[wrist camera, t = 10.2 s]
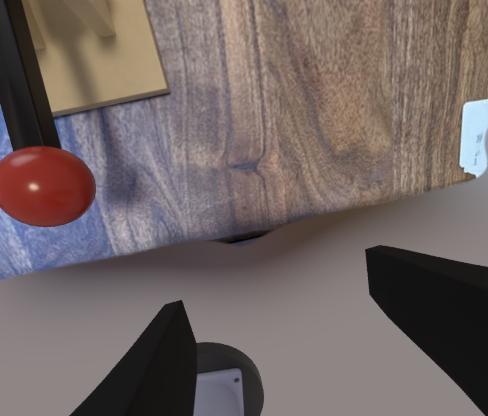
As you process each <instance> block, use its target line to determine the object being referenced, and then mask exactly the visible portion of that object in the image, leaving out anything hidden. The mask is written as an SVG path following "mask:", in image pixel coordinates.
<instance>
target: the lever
mask: <svg viewBox="0 0 488 416" xmlns="http://www.w3.org/2000/svg"><path fill="white" fill-rule="evenodd" d="M0 104H1V108H2V112H3V115H4V119H5V123H6V126H7V130H8V134H9V137H10V141H11V145H12V148H13V152H12V153H10V154H8V155H7V156H5V157H4V158H3V159H2V160H1V161H0V208H1V209H2V210H3V211H4V212H5V213H6V214H7V215H9V216H10V217H12V218H14V219H15V220H17V221H20V222H22V223H25V224H28V225H32V226H38V227H55V226H60V225H64V224H67V223H70V222H72V221H74V220H76V219H78V218H79V217H81V216H82V215H83V214H84V213H85V212H86V211H87V210H88V209H89V208H90V206H91V205H92V203H93V200H94V198H95V194H96V184H95V179H94V176H93V174H92V172H91V170H90V169H89V168H88V166H87V165H86V164H85V163H84V162H83V161H82V160H81V159H80V158H78V157H77V156H75V155H74V154H72V153H70V152H68V151H66V150H63V149H62V148H61V145H60V141H59V137H58V133H57V130H56V126H55V122H54V119H53V115H52V111H51V107H50V104H49V100H48V96H47V93H46V89H45V85H44V81H43V78H42V74H41V70H40V67H39V63H38V59H37V55H36V52H35V48H34V44H33V41H32V37H31V33H30V29H29V26H28V22H27V18H26V15H25V11H24V7H23V3H22V0H0Z"/></svg>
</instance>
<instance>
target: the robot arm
mask: <svg viewBox="0 0 488 416" xmlns="http://www.w3.org/2000/svg"><path fill="white" fill-rule="evenodd" d="M365 252H366V262H367V272H368V283H369V293H370V295H371V297H372V298H373V299H374V301H375V302H376V303H377V304H378V306H379V307H380V308H381V309H382V310H383V312H384V313H385V314H386V315H387V316H388V318H390V320H392V321H393V323H394V324H395V325H397V326H398V327H399V328H400V329H401V330H402V331H403V332H404V333H405V334H406V335H407V336H408V337H409V338H410V339H411V340H412V341H413V342H414V343H415V344H416V345H417V346H418V347H420V349H422V351H423V352H425V353H426V354H427V355H428V356H429V357H430V358H431V359H432V360H433V361H434V362H435V363H436V364H437V365H438V366H439V367H440V368H441V369H442V370H443V371H444V372H445V373H447V375H448V376H450V378H451V379H452V380H453V381H454V382H455V383H456V384H457V385H458V386H459V387H460V388H461V389H462V390H463V391H464V392H465V393H466V395H468V397H469V398H470V399H471V400H472V401H473V402H474V404H475V405H476V406H477V407H478V408H479V409H480V410H481V411H482V412H483V414H484V415H485V416H488V267H485V266H480V265H474V264H468V263H464V262H459V261H454V260H449V259H445V258H440V257H436V256H431V255H427V254H422V253H418V252H413V251H409V250H404V249H399V248H394V247H388V246H382V245H379V246H375V247H372V248H368V249H365ZM235 378H237V379H235ZM70 416H244V404H243V388H242V373H241V370H240V369H238V368H234V369H227V370H221V371H214V372H208V373H201V374H197V343H196V341H195V338H194V335H193V332H192V329H191V326H190V323H189V320H188V317H187V314H186V311H185V308H184V305H183V302H182V300H179V301H176V302H172V303H169V304H165V305H164V306H163V308H162V309H161V310H160V311H159V312H158V314H157V315H156V317H155V318H154V319H153V320H152V322H151V323H150V324H149V325H148V327H147V328H146V329H145V330H144V332H143V333H142V334H141V335H140V337H139V338H138V339H137V341H136V342H135V343H134V344H133V346H132V347H131V348H130V349H129V351H128V352H127V353H126V354H125V355H124V356H123V358H122V359H121V360H120V361H119V362H118V363H117V365H116V366H115V367H114V368H113V369H112V370H111V372H110V373H109V374H108V375H107V376H106V378H105V379H104V380H103V381H102V382H101V383H100V384H99V385H98V386H97V387H96V389H95V390H94V391H93V392H92V393H91V394H90V395H89V396H88V397H87V398H86V400H84V401H83V402H82V403H81V404H80V405H79V406H78V407H77V408H76V409H75V411H74V412H73V413H72V414H71V415H70Z"/></svg>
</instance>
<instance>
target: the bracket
mask: <svg viewBox="0 0 488 416" xmlns="http://www.w3.org/2000/svg"><path fill="white" fill-rule="evenodd" d="M22 3H23V7H24V11H25V15H26V18H27V22H28V26H29V29H30V33H31V37H32V41H33V44H34V48H35V52H36V55H37V59H38V63H39V67H40V70H41V74H42V78H43V81H44V85H45V89H46V93H47V96H48V100H49V104H50V107H51V111H52V115H53V117H56V116H61V115H66V114H70V113H75V112H80V111H85V110H89V109H94V108H99V107H104V106H108V105H113V104H118V103H123V102H127V101H132V100H137V99H142V98H146V97H151V96H156V95H161V94H165V93H170V89H169V85H168V82H167V78H166V75H165V71H164V68H163V64H162V60H161V57H160V53H159V50H158V46H157V42H156V39H155V35H154V32H153V28H152V24H151V21H150V17H149V14H148V10H147V7H146V3H145V0H22Z"/></svg>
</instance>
